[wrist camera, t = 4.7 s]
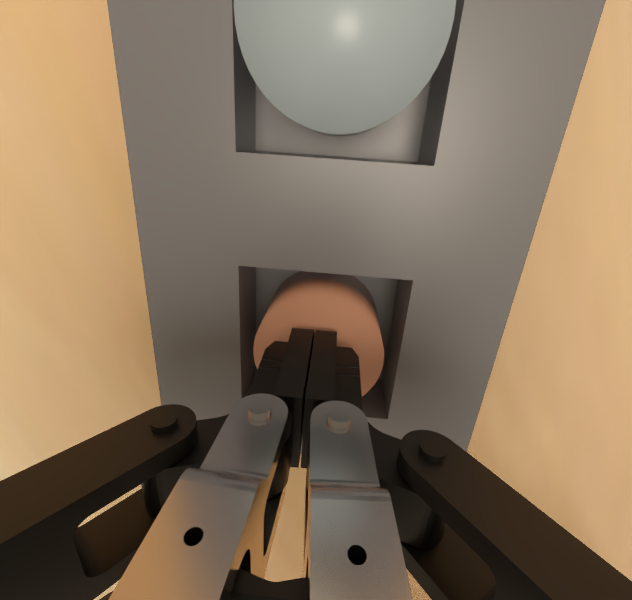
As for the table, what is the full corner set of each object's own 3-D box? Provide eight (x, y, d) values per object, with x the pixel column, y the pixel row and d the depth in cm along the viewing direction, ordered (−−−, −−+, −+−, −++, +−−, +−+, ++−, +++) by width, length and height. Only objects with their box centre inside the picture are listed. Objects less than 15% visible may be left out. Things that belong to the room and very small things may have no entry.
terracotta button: (383, 271, 14) (393, 303, 11) (369, 367, 16) (374, 415, 13) (270, 262, 14) (253, 290, 11) (269, 357, 16) (253, 402, 13)
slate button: (439, -52, 9) (481, -140, 6) (410, 141, 11) (432, 139, 8) (265, -60, 9) (230, -148, 6) (264, 131, 11) (236, 126, 8)
